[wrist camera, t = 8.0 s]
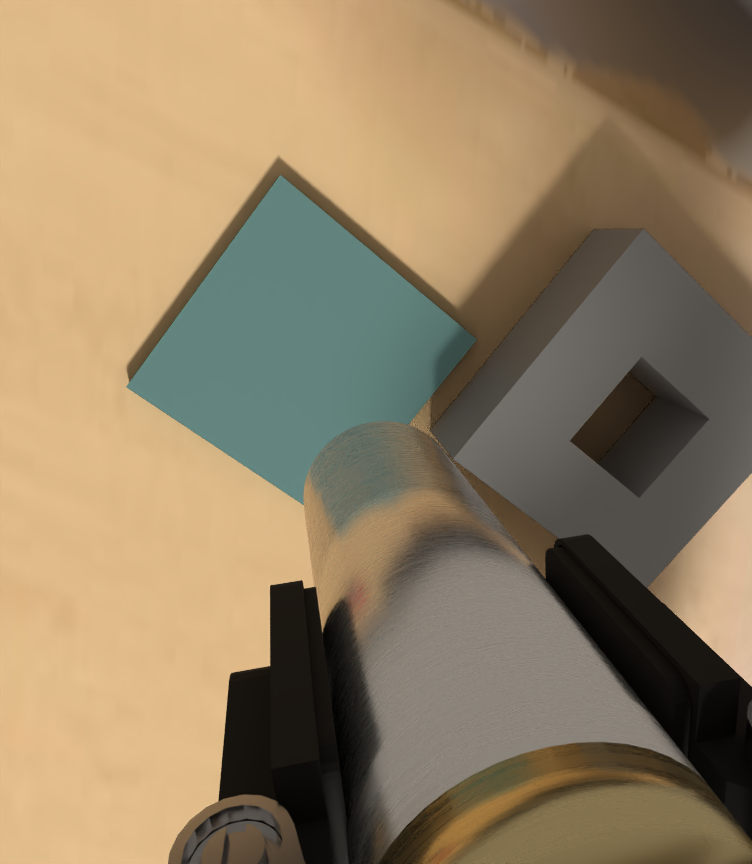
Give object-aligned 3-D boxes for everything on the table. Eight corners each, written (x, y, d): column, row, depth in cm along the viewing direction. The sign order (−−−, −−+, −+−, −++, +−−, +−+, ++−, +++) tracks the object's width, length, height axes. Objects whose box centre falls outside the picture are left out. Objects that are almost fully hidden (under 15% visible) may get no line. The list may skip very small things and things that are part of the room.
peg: (450, 411, 17) (831, 790, 5) (459, 551, 18) (784, 1100, 7) (293, 432, 16) (349, 894, 5) (313, 574, 18) (395, 1209, 6)
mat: (472, 337, 36) (477, 339, 35) (328, 516, 38) (329, 522, 37) (280, 176, 32) (280, 174, 32) (129, 383, 34) (126, 387, 33)
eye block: (750, 382, 40) (815, 402, 35) (595, 556, 41) (637, 598, 37) (593, 229, 35) (643, 228, 31) (429, 430, 37) (452, 459, 33)
